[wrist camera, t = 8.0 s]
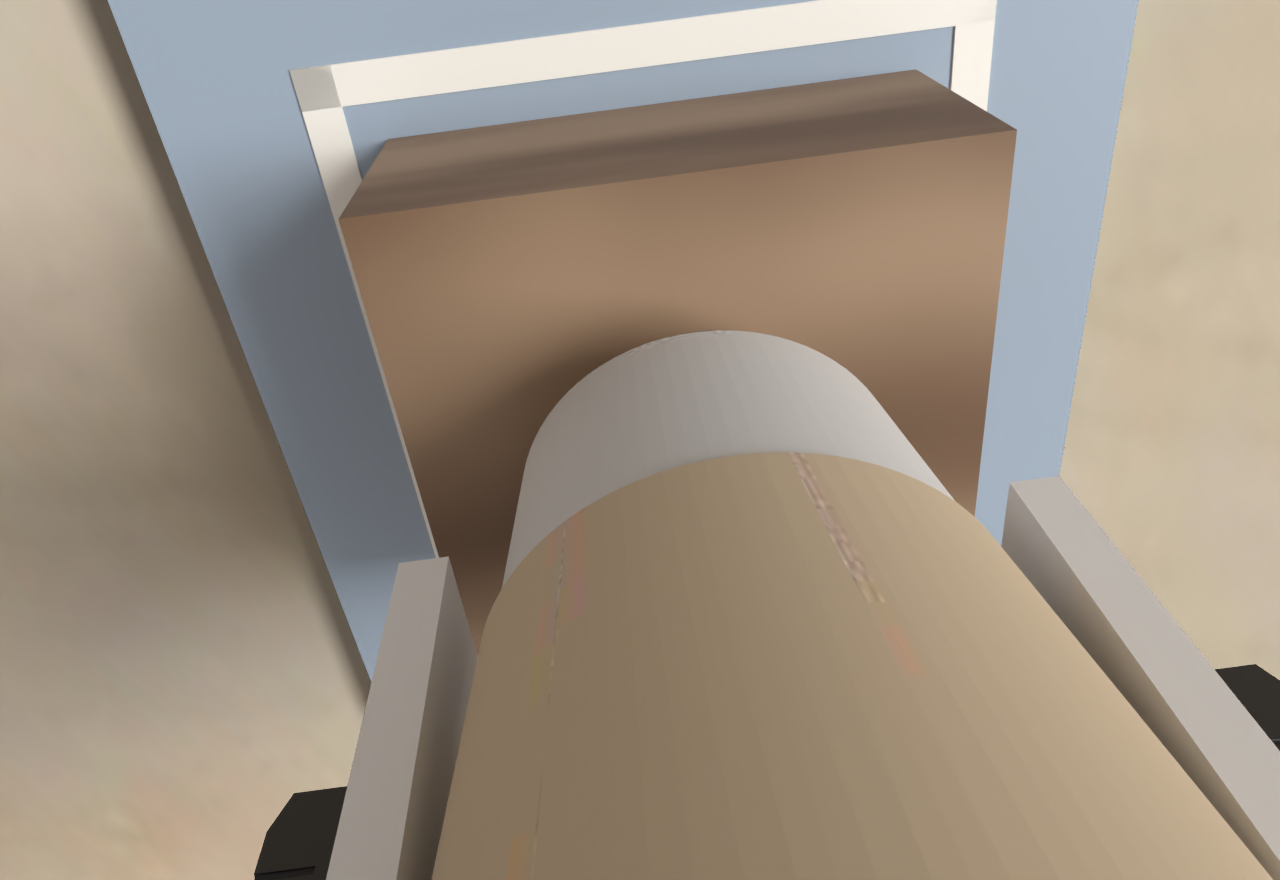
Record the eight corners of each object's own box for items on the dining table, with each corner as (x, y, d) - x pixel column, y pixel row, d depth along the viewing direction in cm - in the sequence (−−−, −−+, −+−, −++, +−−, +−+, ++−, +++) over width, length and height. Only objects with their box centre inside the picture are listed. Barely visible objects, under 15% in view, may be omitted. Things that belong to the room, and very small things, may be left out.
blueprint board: (51, -214, 16) (21, -218, 15) (1168, -360, 16) (1203, -372, 15) (394, 705, 29) (389, 731, 28) (1017, 622, 29) (1031, 647, 28)
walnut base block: (388, 138, 19) (337, 218, 15) (915, 69, 19) (1017, 130, 15) (492, 549, 25) (478, 690, 21) (894, 496, 25) (962, 626, 21)
